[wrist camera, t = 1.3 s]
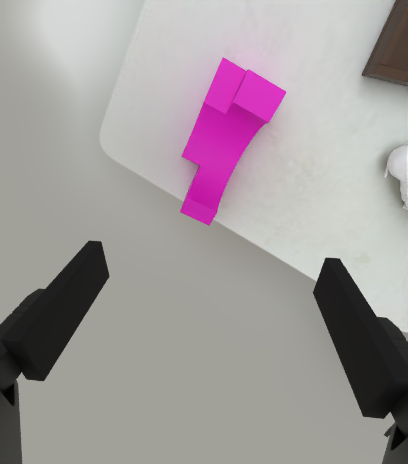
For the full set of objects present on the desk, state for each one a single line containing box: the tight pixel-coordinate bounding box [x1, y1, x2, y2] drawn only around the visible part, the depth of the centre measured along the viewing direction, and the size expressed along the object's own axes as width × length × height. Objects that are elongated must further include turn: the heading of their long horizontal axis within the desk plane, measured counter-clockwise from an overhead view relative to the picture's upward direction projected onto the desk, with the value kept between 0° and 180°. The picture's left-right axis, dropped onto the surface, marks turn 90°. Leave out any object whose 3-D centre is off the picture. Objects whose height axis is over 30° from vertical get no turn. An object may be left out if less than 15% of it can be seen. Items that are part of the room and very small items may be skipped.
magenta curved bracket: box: [180, 58, 286, 225], centre depth 27 cm, size 15×6×8 cm, turn 154°
